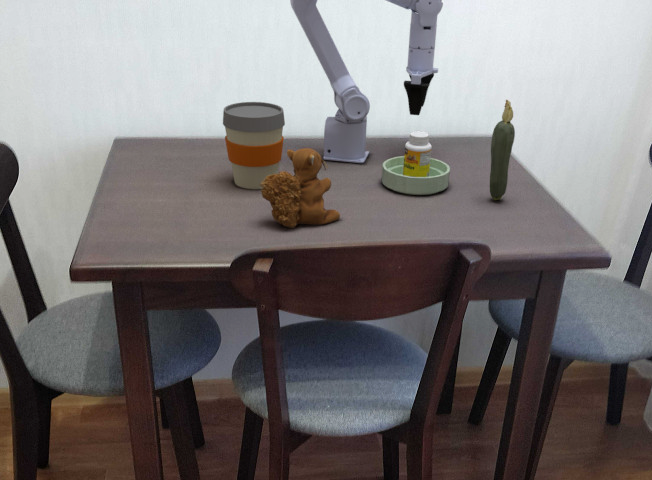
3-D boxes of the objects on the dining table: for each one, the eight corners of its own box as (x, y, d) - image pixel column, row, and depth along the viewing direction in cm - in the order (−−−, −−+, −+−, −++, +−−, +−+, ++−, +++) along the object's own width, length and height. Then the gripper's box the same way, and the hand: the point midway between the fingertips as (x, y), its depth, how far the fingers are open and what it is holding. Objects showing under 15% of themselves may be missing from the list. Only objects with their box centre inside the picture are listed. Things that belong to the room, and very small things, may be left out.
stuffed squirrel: (343, 219, 148) (346, 151, 140) (287, 238, 139) (286, 166, 132) (309, 204, 153) (309, 138, 146) (253, 221, 145) (251, 152, 138)
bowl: (376, 192, 160) (377, 174, 158) (387, 171, 172) (388, 153, 169) (444, 199, 158) (446, 180, 156) (450, 177, 170) (452, 159, 167)
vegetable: (504, 206, 156) (519, 105, 145) (482, 203, 157) (496, 103, 146) (504, 198, 160) (520, 99, 149) (483, 196, 160) (497, 97, 149)
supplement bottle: (397, 179, 165) (400, 131, 160) (418, 176, 168) (423, 128, 162) (411, 188, 161) (415, 139, 156) (433, 184, 164) (438, 136, 158)
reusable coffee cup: (214, 184, 161) (209, 111, 153) (247, 168, 170) (244, 98, 162) (264, 196, 156) (263, 121, 148) (296, 178, 166) (296, 107, 157)
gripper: (436, 54, 162) (430, 120, 169) (443, 41, 174) (437, 103, 181) (403, 52, 163) (399, 117, 170) (412, 39, 175) (407, 101, 182)
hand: (416, 110), depth 176 cm, fingers open, 7 cm apart
